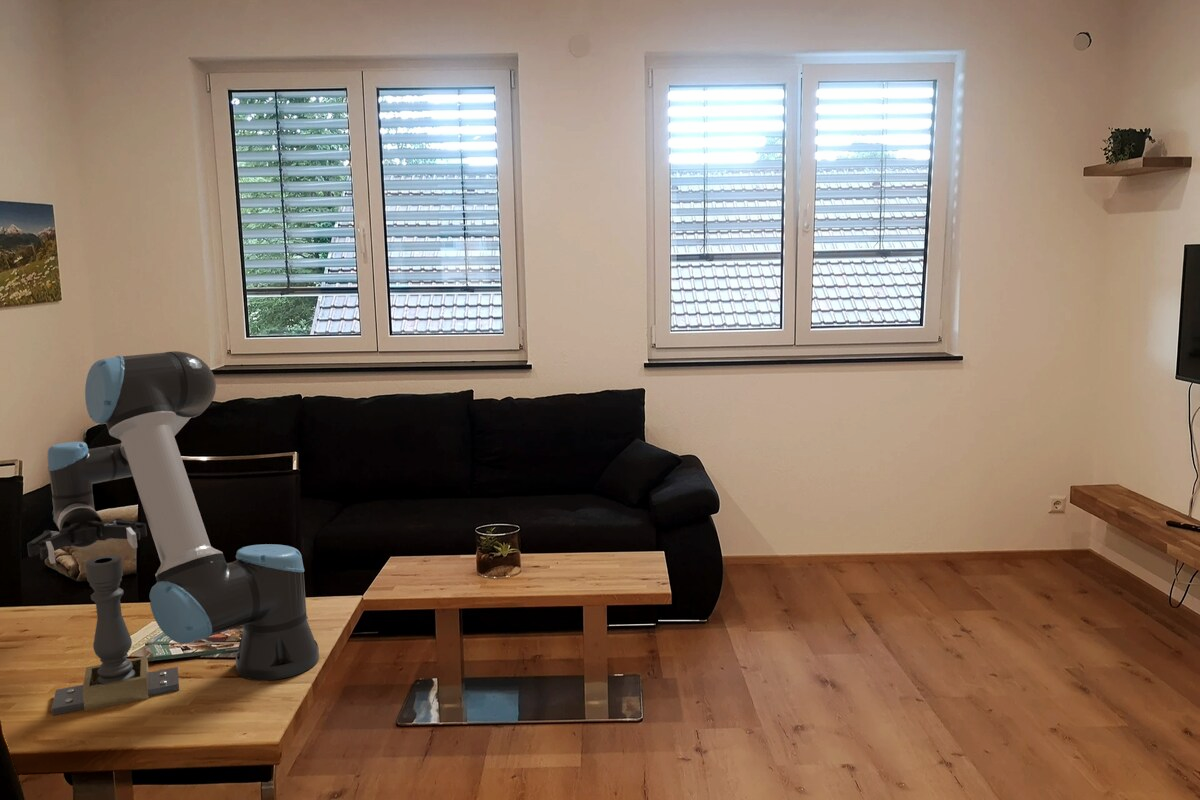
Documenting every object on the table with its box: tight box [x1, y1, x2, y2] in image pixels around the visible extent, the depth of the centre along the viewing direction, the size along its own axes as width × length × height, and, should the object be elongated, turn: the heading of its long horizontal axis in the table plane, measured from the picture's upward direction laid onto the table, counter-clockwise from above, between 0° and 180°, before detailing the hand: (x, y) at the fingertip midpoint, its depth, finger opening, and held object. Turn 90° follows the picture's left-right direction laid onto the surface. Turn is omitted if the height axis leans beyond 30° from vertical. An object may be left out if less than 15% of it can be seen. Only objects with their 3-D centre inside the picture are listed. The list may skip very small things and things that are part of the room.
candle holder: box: [84, 555, 136, 685], centre depth 165 cm, size 6×6×25 cm
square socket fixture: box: [51, 655, 180, 716], centre depth 167 cm, size 20×10×4 cm, turn 115°
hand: (94, 548), depth 172 cm, fingers open, 13 cm apart
